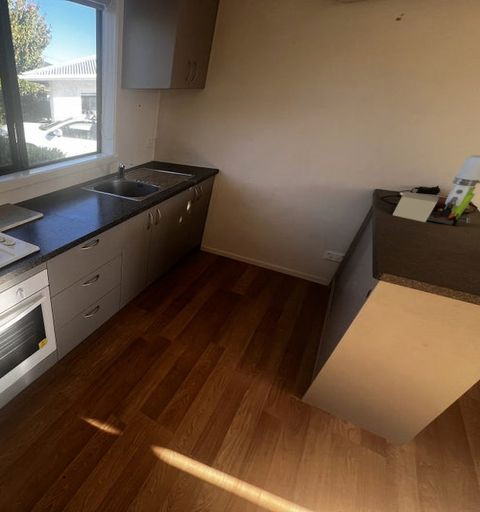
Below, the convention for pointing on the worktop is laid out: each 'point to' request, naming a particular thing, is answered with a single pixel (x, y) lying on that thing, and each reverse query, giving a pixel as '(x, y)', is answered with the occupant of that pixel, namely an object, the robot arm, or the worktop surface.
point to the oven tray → (453, 222)
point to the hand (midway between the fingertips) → (443, 215)
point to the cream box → (415, 206)
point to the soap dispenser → (465, 201)
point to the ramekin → (445, 218)
